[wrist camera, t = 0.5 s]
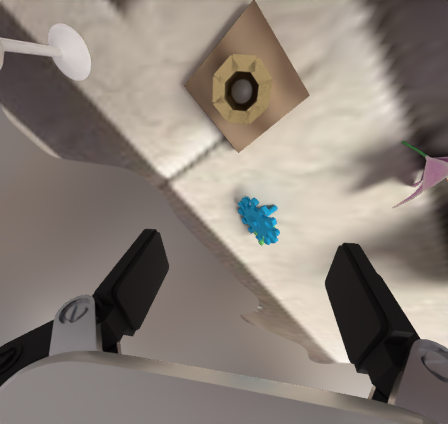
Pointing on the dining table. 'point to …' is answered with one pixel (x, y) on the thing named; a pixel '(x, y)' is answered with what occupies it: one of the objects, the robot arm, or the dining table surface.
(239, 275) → the dining table surface
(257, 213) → the gear
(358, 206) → the dining table surface
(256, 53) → the rod stand
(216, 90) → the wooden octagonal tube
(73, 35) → the champagne flute
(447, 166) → the lily
